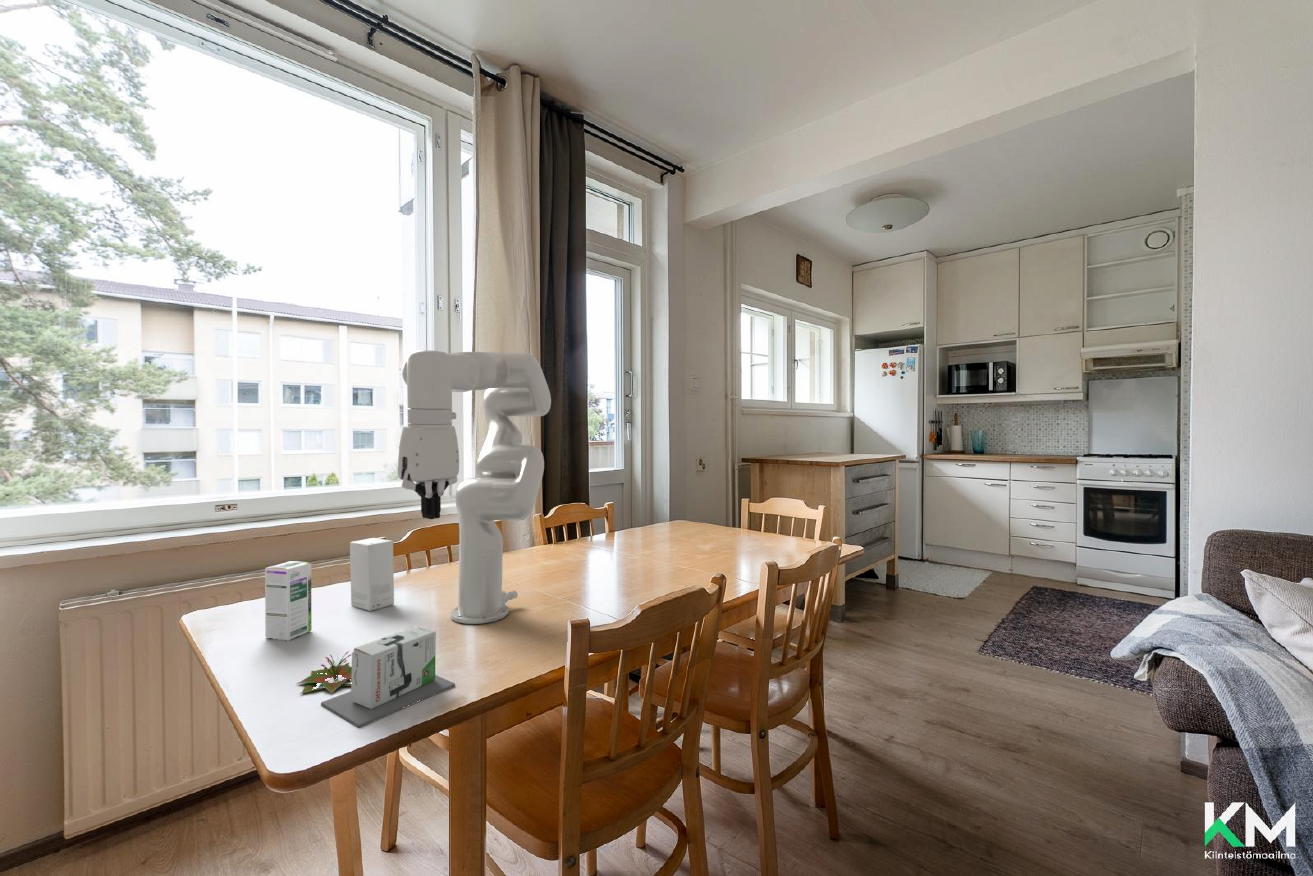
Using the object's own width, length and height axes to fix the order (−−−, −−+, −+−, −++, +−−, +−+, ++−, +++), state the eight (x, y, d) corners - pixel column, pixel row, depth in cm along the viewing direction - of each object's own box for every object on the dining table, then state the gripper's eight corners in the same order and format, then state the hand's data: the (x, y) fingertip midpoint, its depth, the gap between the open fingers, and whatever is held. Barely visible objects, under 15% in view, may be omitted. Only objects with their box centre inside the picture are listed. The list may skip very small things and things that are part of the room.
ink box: (436, 680, 93) (369, 712, 83) (417, 673, 95) (350, 703, 85) (437, 630, 93) (370, 655, 82) (417, 623, 95) (350, 648, 85)
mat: (416, 668, 98) (416, 666, 98) (455, 686, 92) (455, 683, 92) (320, 705, 85) (321, 702, 85) (359, 727, 79) (359, 725, 79)
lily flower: (302, 672, 97) (303, 646, 97) (378, 663, 101) (379, 638, 101) (285, 704, 86) (285, 675, 86) (372, 692, 90) (372, 664, 90)
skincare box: (394, 605, 133) (395, 540, 132) (367, 612, 127) (368, 545, 127) (374, 598, 137) (375, 536, 137) (348, 605, 132) (348, 540, 131)
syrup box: (288, 641, 109) (289, 568, 109) (263, 638, 110) (264, 566, 110) (312, 631, 115) (313, 561, 115) (288, 628, 116) (288, 560, 116)
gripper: (452, 417, 109) (453, 509, 111) (379, 418, 97) (380, 522, 98) (477, 418, 105) (477, 514, 106) (403, 420, 93) (405, 528, 94)
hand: (431, 517), depth 102 cm, fingers closed
